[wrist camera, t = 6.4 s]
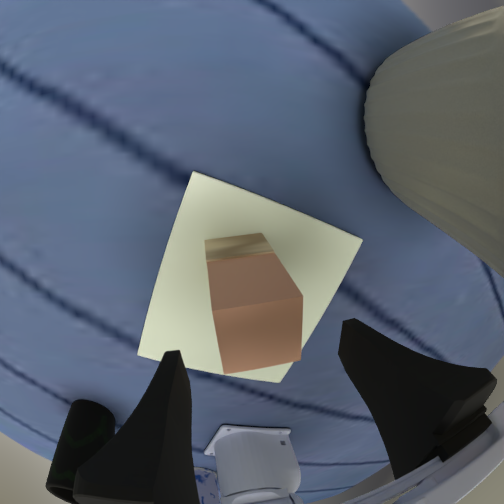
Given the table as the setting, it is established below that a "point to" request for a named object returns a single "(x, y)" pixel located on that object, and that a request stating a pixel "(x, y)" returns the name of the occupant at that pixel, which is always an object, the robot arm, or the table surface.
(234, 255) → the beech brick
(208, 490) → the aerosol can
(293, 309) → the terracotta brick
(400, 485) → the robot arm
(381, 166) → the canister
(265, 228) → the plate
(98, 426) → the cup
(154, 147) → the table surface
